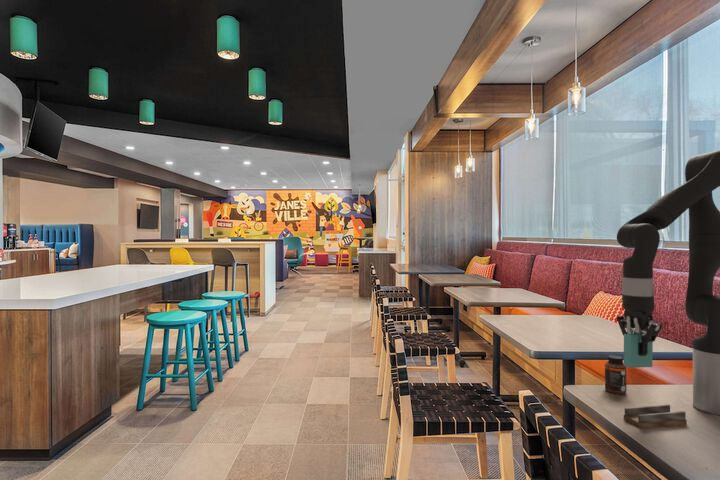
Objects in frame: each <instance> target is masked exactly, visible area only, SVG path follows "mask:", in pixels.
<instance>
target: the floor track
mask: <svg viewBox="0 0 720 480" xmlns="http://www.w3.org/2000/svg"><path fill="white" fill-rule="evenodd" d="M686 412H687V411H684V410H681V411H671V405H670V404H658V405H657V404H656V405H647V406H646V405H645V406H644V405H643V406H634V407H624V414H623V421H627V422H628V423H630V424H632V425H633V426H635V427H638V428H639V429H650V428H653V429H654V428H660V427H673V426H674V427H675V426H682V425H683V426H684V425H685V426H686V425H687V424H688V423H687V422H688V420H687V419H686Z"/></svg>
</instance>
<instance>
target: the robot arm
mask: <svg viewBox="0 0 720 480" xmlns="http://www.w3.org/2000/svg"><path fill="white" fill-rule="evenodd" d="M684 176H685V177H684V178H685V183H683V184H681V185H679V186H677V187H675V188H673V189H672V190H670V191H668V192H667V193H665V194H663V195H662V196H661V197H659V198H658V199H656V201H655V202H654V203H653V204H651V205H650V206H649V207H648V208H647V209H646V210H645V211H643V212H642V213H640V214H638V215H636V216H635V217H633V218H632V219H630V220H628V221H626V222H625V223H624V224H623V225H622V226H621V227H619V229H618V230H617V233H616V240H617V243H618V244H619V245H620V246H621V247H623V248H626V249H634V250H633V252H632V255H631V256H628V257H626V258H625V257H624V259H623V262H622V283H621V306H622V307H621V308H622V309H623V310H624V312H623V314H622V315H617V316H616V321H617V323H618V326H619V328H620V330H621V333H622V336H624V334H635V333H636V334H637V335H638V355H640V356H646V355H647V353H648V342H653V343H654V342H655V341H656V339H657V337H658V335H659V333H660V331H661V330H662V328H663V325H662V323H657V322H655V321H654V317H653V312H654V310H655V285H654V284H655V283H654V269H653V268H654V261H655V259H656V255H657V252H658V249H659V245H660V240H661V238H660V237H661V236H660V231H661V230H664V229H667V228H668V227H669V226H670V225H672V224H673V223H674V222H675V221H676V220H677V219H678V218H679V217H681V215H683V214H684V213H685V212H686V211H687V210H688V279H687V287H686V296H685V306H684V307H685V308H684V310H685V314H686V316H687V318H688V319H689V321H691V322H692V323H694V324H697V325H702V326H705V327H707V329H706V334H705V335H703V336H698V337H697V336H696V337H694V338H693V339H692V406H693V407H694V408H695V409H698V410H700V411H702V412H706V413H709V414H712V415H717V416H720V295H714V293H713V292H714V291H713V290H714V288H713V287H714V280H715V276H716V275H717V273H718V271H719V270H720V210H719V208H718V207H717V206H716V204H715V201H714V199H713V198H714V197H713V191H715V190H717V188H719V187H720V150H719V149H718V150H715V151H710V152H704V153H700V154H697V155H694V156H691V157H690V158H689V159H688V160H687V162H686V165H685V169H684ZM643 334H644V338H643Z"/></svg>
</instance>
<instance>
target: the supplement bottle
mask: <svg viewBox="0 0 720 480" xmlns="http://www.w3.org/2000/svg"><path fill="white" fill-rule="evenodd" d="M607 358H608V361H605V363H604V364H605V365H604V388H605V390H606V391H607V392H609V393H611V394H616V395H625V394H626V393H627V388H628V386H627V366H625V365H624V357H623V356H620V355H619V356H618V355H614V354H613V355H611V354H610V355H608V357H607Z"/></svg>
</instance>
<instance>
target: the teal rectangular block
mask: <svg viewBox="0 0 720 480" xmlns="http://www.w3.org/2000/svg"><path fill="white" fill-rule="evenodd" d="M643 338H644V334H643ZM653 344H654V342H648V353H647V355H646V356H640V355H638V335H637V334H636V333H635V334H634V333H633V334H624V335H623V364H624V365H625V366H626V368H627V367H628V368H631V369H633V368H635V369H636V368H653V358H654V357H653V355H654V354H653V353H654V352H653V350H654V349H653V347H654V345H653Z"/></svg>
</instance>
